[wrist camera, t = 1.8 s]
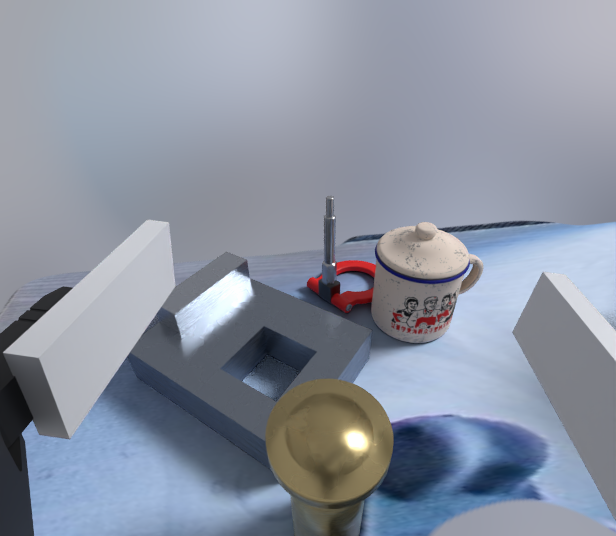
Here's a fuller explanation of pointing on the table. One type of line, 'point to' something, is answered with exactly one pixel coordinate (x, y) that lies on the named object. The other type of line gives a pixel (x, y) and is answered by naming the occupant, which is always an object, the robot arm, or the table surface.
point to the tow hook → (338, 270)
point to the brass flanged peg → (328, 453)
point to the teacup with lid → (420, 281)
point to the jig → (241, 348)
